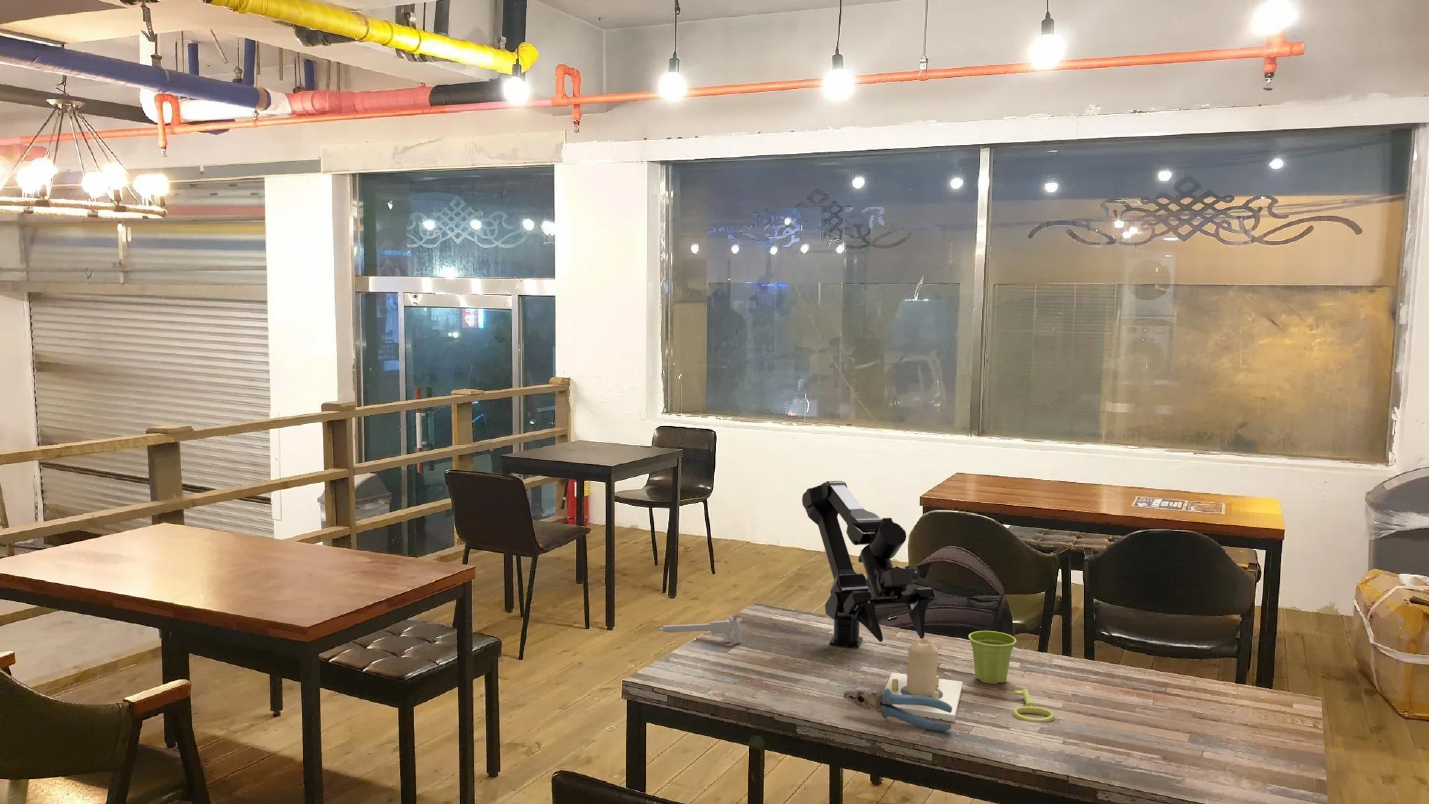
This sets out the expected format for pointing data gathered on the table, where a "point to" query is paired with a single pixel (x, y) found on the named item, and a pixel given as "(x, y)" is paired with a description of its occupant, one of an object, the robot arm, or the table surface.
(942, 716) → the stud tile
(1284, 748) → the table surface
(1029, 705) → the key
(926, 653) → the candle
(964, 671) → the table surface
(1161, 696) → the table surface
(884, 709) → the pliers
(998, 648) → the plant pot
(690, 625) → the caliper
